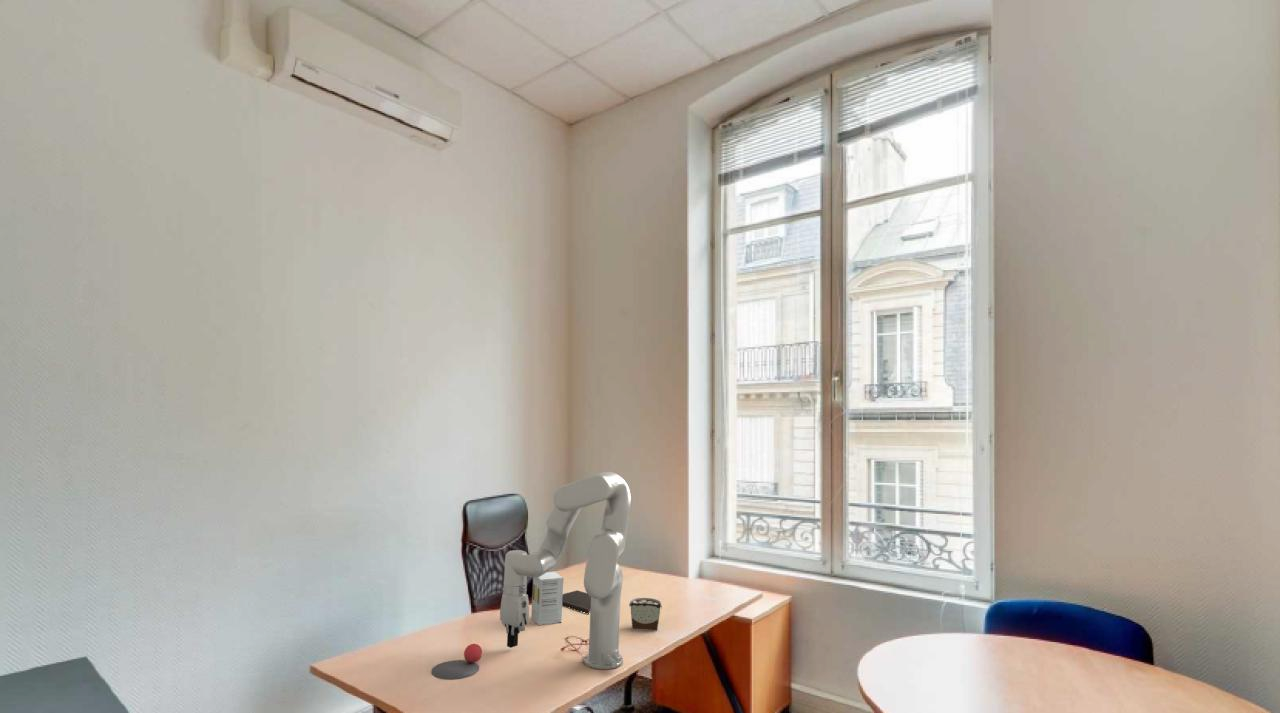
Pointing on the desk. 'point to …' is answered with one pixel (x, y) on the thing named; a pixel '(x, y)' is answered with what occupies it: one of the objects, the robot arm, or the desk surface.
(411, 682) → the desk surface
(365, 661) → the desk surface
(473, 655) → the ball
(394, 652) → the desk surface
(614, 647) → the robot arm
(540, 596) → the supplement box
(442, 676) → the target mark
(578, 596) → the hardcover book
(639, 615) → the food container
